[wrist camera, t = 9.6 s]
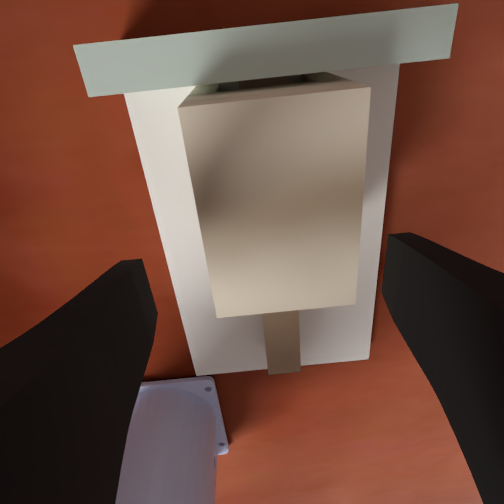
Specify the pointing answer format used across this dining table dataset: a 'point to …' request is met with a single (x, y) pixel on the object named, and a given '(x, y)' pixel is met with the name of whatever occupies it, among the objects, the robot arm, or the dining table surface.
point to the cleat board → (190, 251)
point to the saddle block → (279, 191)
